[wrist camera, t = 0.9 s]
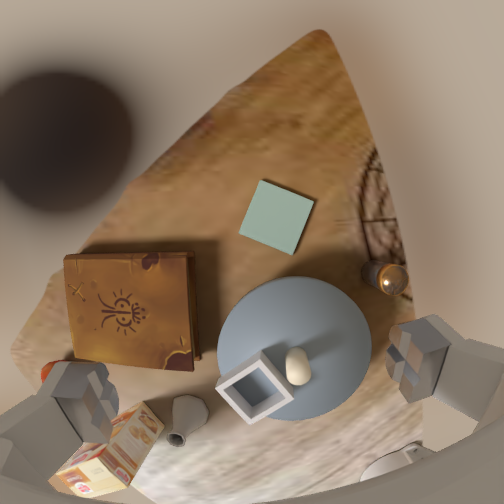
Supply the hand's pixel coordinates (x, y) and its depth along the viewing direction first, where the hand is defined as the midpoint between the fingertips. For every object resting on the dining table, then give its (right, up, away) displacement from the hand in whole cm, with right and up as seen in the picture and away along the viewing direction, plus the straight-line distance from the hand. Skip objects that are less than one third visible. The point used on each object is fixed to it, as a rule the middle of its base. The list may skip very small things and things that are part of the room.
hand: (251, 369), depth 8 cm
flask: (-11, -26, +44) cm, 53 cm away
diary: (-21, -6, +44) cm, 49 cm away
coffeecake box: (-25, -32, +45) cm, 61 cm away
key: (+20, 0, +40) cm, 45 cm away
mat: (+4, +9, +41) cm, 42 cm away
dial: (+6, -11, +37) cm, 39 cm away
